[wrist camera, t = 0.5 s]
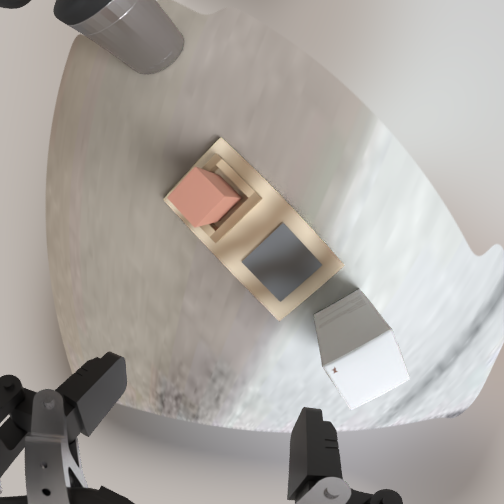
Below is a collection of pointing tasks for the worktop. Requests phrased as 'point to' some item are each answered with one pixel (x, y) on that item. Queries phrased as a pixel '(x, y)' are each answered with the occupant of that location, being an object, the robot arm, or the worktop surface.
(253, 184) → the board
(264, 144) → the worktop surface
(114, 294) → the worktop surface
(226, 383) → the worktop surface
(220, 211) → the block
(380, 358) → the supplement box
